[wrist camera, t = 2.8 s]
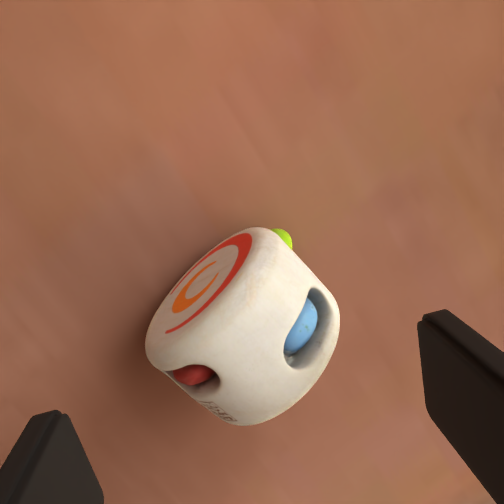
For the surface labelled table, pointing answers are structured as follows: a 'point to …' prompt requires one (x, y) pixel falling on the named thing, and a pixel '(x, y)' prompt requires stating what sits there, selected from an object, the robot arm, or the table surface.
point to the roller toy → (246, 328)
